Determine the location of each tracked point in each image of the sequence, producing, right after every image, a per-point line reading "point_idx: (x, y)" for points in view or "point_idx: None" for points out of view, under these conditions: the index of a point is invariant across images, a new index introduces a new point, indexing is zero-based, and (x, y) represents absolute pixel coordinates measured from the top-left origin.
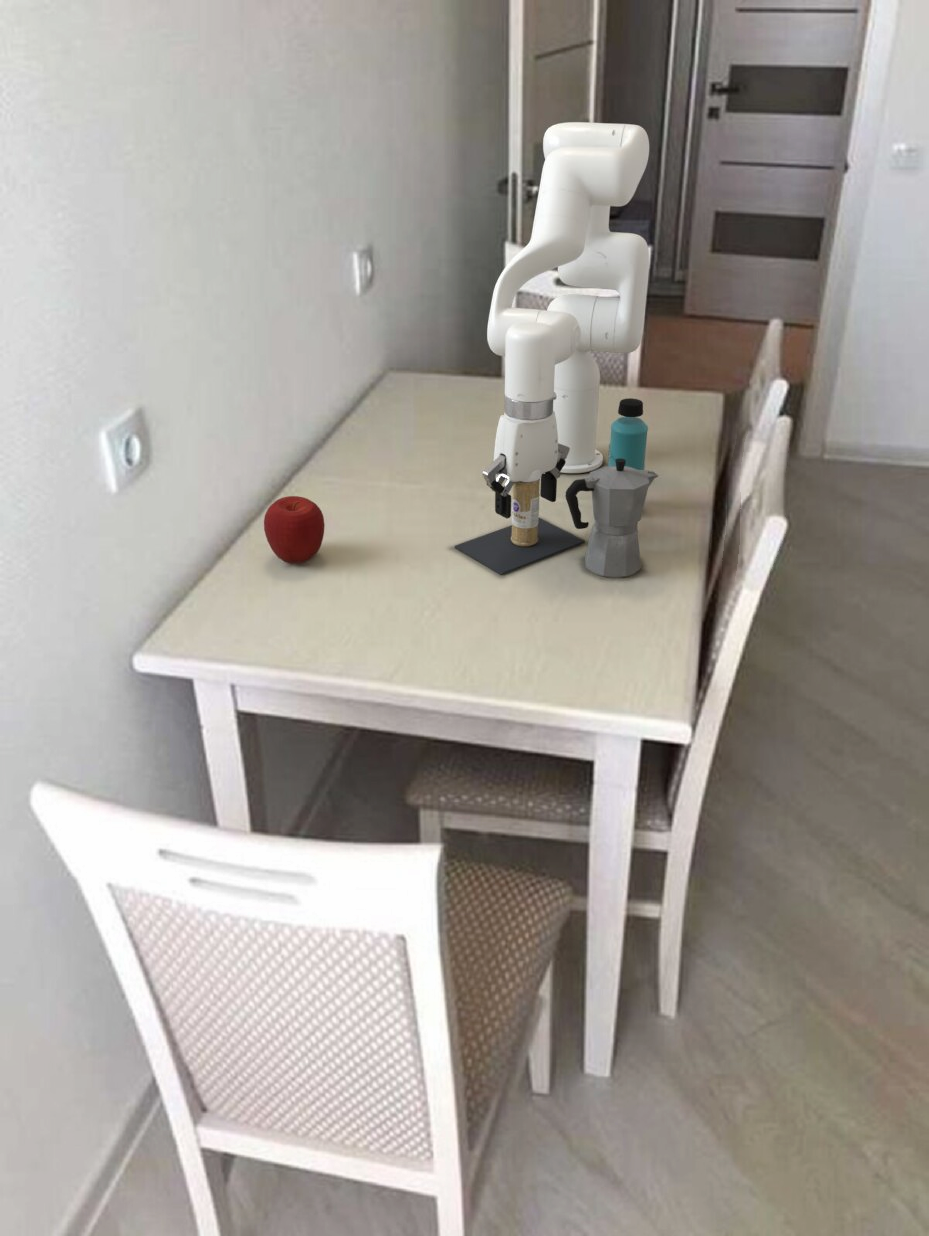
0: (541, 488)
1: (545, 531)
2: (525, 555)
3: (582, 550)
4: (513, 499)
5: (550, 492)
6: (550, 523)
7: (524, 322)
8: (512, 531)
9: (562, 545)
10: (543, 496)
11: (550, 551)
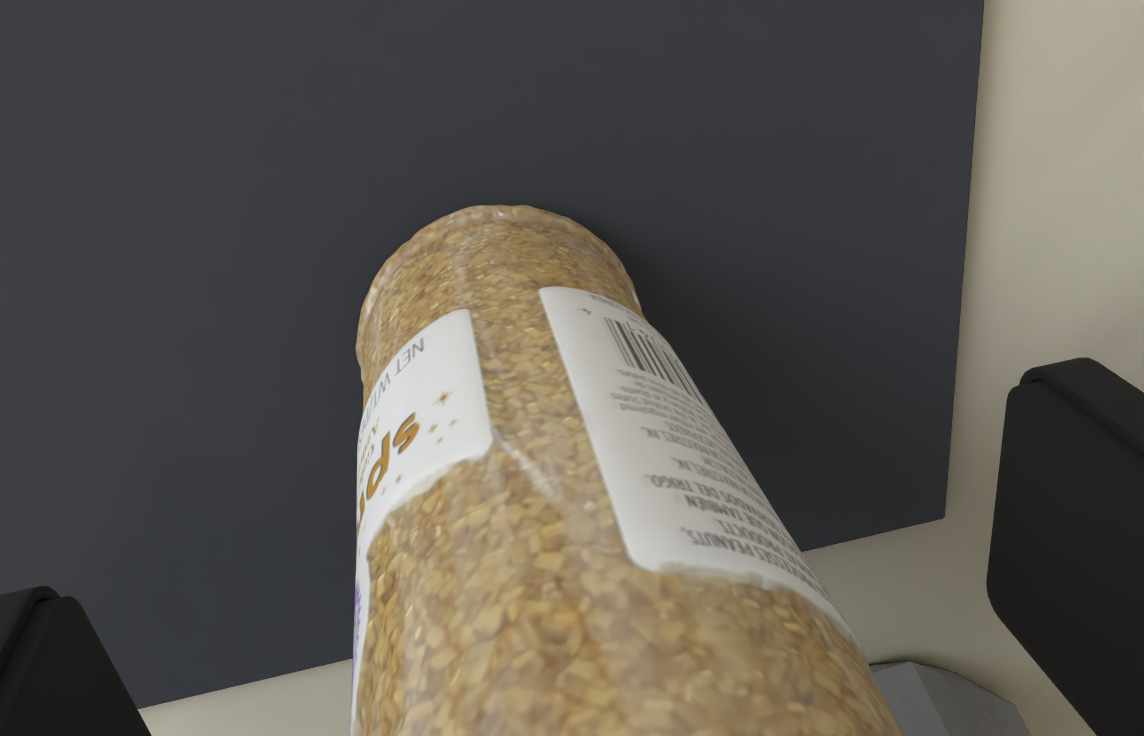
0: (1114, 477)
1: (808, 238)
2: None
3: (834, 590)
4: (359, 707)
5: (1083, 666)
6: (975, 95)
7: None
8: (365, 375)
9: None
10: (1016, 458)
11: None
